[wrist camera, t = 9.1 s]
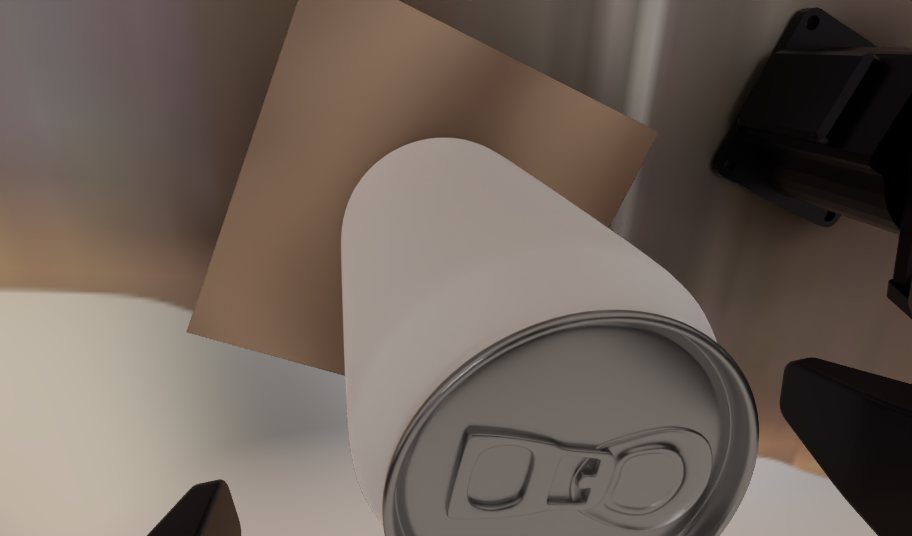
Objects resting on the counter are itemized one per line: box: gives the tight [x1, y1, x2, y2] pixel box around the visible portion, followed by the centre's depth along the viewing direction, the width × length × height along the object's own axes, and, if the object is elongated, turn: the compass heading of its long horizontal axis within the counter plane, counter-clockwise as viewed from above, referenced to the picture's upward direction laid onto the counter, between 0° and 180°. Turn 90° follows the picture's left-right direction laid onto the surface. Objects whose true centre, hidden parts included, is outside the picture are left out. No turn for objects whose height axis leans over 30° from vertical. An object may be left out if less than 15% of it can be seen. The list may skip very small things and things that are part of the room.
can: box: [341, 138, 759, 536], centre depth 14 cm, size 6×6×12 cm
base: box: [187, 0, 659, 375], centre depth 20 cm, size 12×12×2 cm
